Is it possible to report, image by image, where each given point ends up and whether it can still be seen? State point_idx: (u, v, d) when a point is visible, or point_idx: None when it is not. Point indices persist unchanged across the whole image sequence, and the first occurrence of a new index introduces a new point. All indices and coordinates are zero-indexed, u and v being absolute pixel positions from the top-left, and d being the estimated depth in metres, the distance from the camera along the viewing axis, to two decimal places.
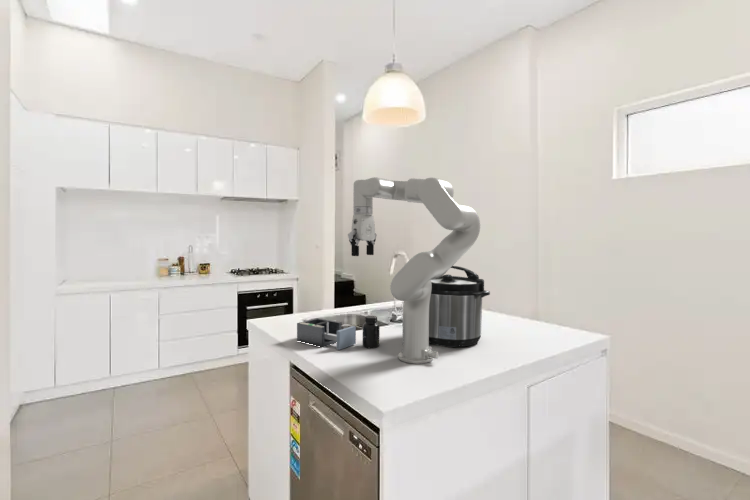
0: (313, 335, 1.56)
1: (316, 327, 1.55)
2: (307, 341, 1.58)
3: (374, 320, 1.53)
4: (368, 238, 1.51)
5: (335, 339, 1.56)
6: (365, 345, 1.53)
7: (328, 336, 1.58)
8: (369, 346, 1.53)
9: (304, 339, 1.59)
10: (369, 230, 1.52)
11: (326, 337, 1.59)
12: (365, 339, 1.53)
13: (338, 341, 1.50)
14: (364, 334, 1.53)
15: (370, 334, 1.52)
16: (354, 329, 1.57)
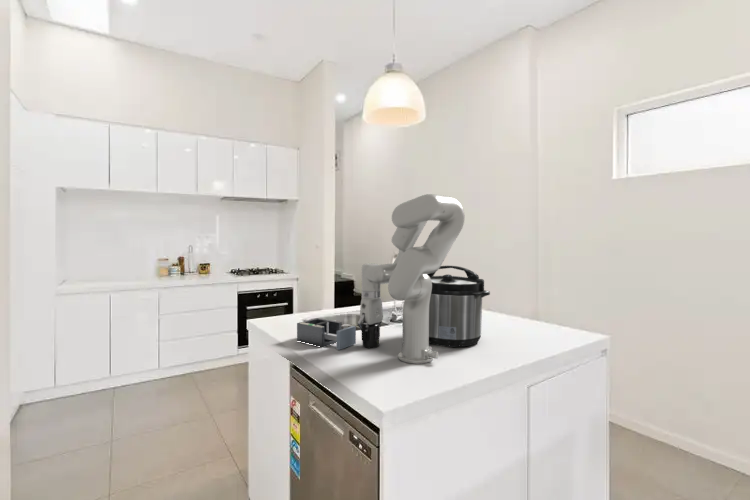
0: (313, 335, 1.56)
1: (316, 327, 1.55)
2: (307, 341, 1.58)
3: None
4: (376, 321, 1.54)
5: (335, 339, 1.56)
6: (365, 345, 1.53)
7: (328, 336, 1.58)
8: (369, 346, 1.53)
9: (304, 339, 1.59)
10: (377, 313, 1.54)
11: (326, 337, 1.59)
12: None
13: (338, 341, 1.50)
14: None
15: (370, 334, 1.52)
16: (354, 329, 1.57)
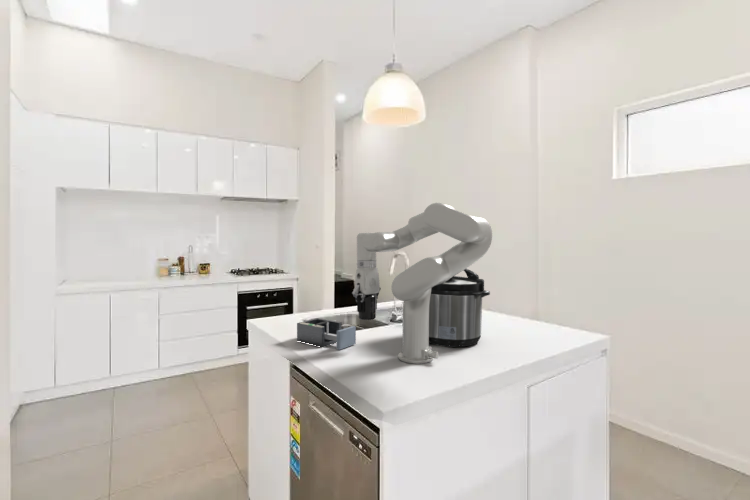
0: (313, 335, 1.56)
1: (316, 327, 1.55)
2: (307, 341, 1.58)
3: None
4: (372, 292, 1.49)
5: (335, 339, 1.56)
6: (361, 316, 1.49)
7: (328, 336, 1.58)
8: (365, 317, 1.48)
9: (304, 339, 1.59)
10: (373, 283, 1.49)
11: (326, 337, 1.59)
12: None
13: (338, 341, 1.50)
14: None
15: (365, 305, 1.48)
16: (354, 329, 1.57)
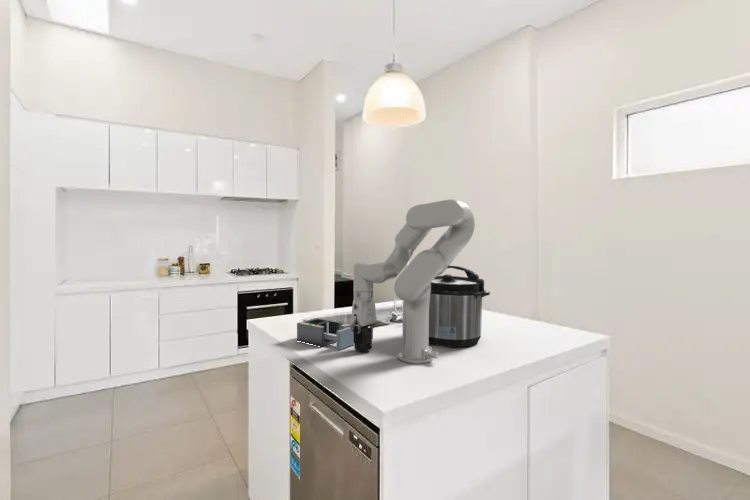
0: (313, 335, 1.56)
1: (316, 327, 1.55)
2: (307, 341, 1.58)
3: None
4: (369, 322, 1.47)
5: (335, 339, 1.56)
6: (357, 348, 1.47)
7: (328, 336, 1.58)
8: (361, 349, 1.46)
9: (304, 339, 1.59)
10: (370, 314, 1.48)
11: (326, 337, 1.59)
12: None
13: (338, 341, 1.50)
14: None
15: (362, 336, 1.46)
16: None
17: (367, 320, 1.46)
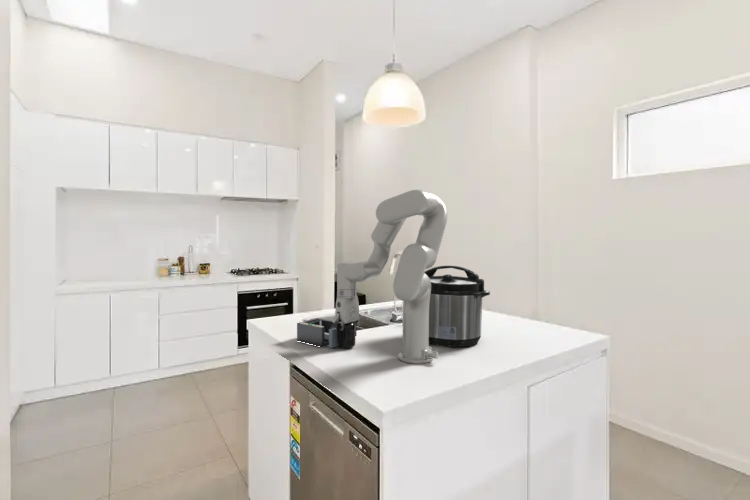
0: (313, 335, 1.56)
1: (316, 327, 1.55)
2: (307, 341, 1.58)
3: None
4: (352, 320, 1.52)
5: (328, 337, 1.58)
6: (340, 344, 1.51)
7: None
8: (344, 345, 1.51)
9: (304, 339, 1.59)
10: (353, 311, 1.52)
11: None
12: None
13: (330, 339, 1.52)
14: None
15: (345, 333, 1.50)
16: None
17: (350, 317, 1.51)
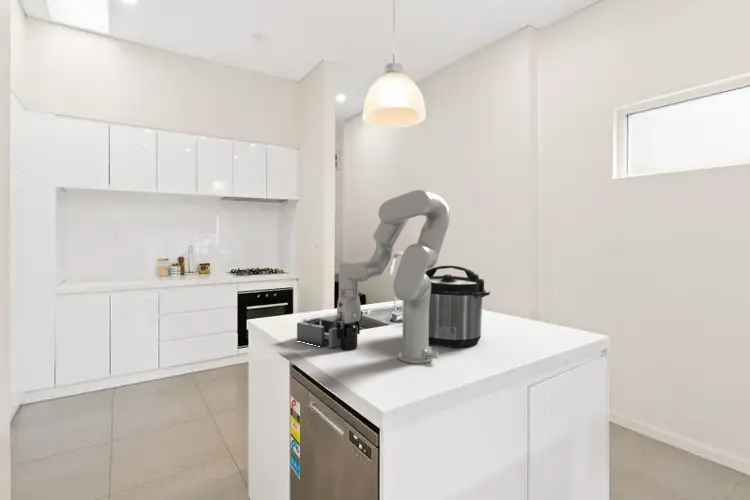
0: (313, 335, 1.56)
1: (316, 327, 1.55)
2: (307, 341, 1.58)
3: None
4: (353, 320, 1.51)
5: (328, 337, 1.58)
6: (342, 347, 1.51)
7: None
8: (346, 348, 1.50)
9: (304, 339, 1.59)
10: (354, 312, 1.52)
11: None
12: (343, 341, 1.51)
13: (330, 339, 1.52)
14: None
15: (347, 336, 1.50)
16: None
17: (352, 317, 1.50)
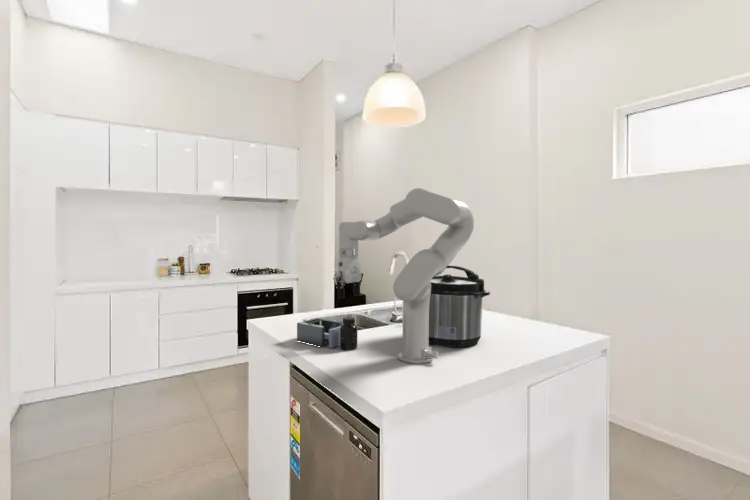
0: (313, 335, 1.56)
1: (316, 327, 1.55)
2: (307, 341, 1.58)
3: (352, 321, 1.51)
4: (354, 280, 1.51)
5: (328, 337, 1.58)
6: (342, 347, 1.51)
7: None
8: (346, 348, 1.50)
9: (304, 339, 1.59)
10: (355, 272, 1.51)
11: None
12: (343, 341, 1.51)
13: (330, 339, 1.52)
14: (341, 336, 1.51)
15: (347, 336, 1.50)
16: None
17: (352, 277, 1.50)
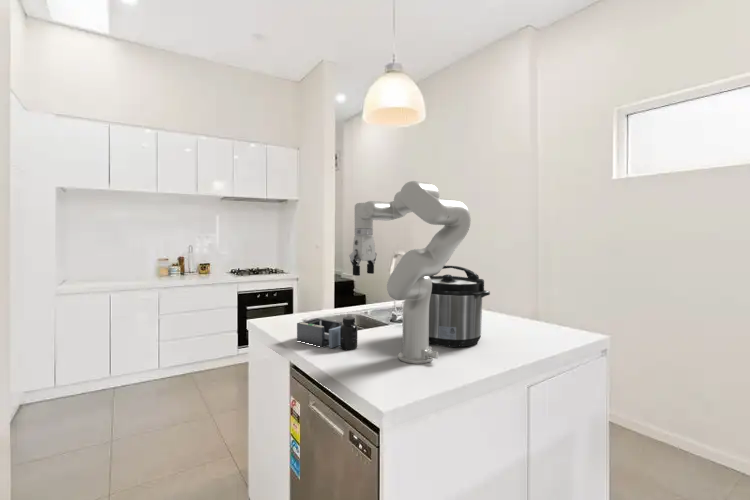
0: (313, 335, 1.56)
1: (316, 327, 1.55)
2: (307, 341, 1.58)
3: (352, 321, 1.51)
4: (368, 258, 1.59)
5: (328, 337, 1.58)
6: (342, 347, 1.51)
7: None
8: (346, 348, 1.50)
9: (304, 339, 1.59)
10: (369, 250, 1.59)
11: None
12: (343, 341, 1.51)
13: (330, 339, 1.52)
14: (341, 336, 1.51)
15: (347, 336, 1.50)
16: None
17: (367, 255, 1.58)
